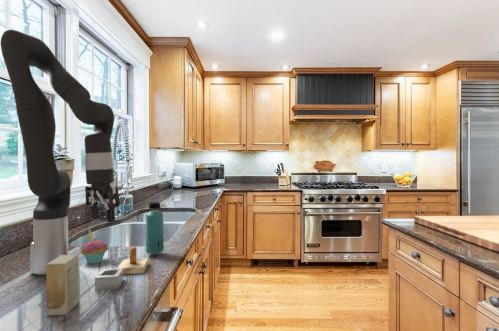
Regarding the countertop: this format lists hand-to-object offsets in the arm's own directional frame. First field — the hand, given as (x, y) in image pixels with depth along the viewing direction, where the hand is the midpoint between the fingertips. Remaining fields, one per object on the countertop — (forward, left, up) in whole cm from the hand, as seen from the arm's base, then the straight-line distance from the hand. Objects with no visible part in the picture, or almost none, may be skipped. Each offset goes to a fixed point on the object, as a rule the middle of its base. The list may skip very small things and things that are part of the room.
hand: (103, 220), depth 87 cm
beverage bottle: (+13, +17, -18) cm, 28 cm away
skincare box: (-3, -19, -18) cm, 26 cm away
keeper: (+8, +4, -17) cm, 19 cm away
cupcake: (-7, +14, -18) cm, 24 cm away
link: (+4, -7, -17) cm, 19 cm away
